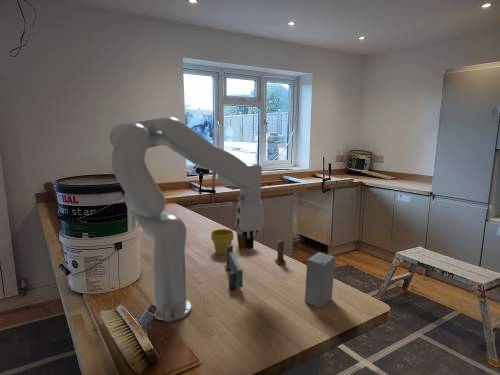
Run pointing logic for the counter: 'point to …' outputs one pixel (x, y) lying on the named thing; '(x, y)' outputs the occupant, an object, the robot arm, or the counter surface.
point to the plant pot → (222, 240)
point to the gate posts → (232, 275)
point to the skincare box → (319, 279)
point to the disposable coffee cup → (240, 240)
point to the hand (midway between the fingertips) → (248, 247)
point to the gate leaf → (236, 269)
